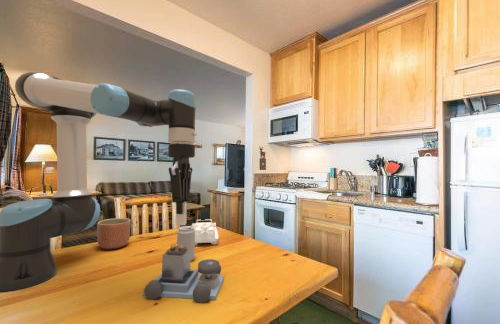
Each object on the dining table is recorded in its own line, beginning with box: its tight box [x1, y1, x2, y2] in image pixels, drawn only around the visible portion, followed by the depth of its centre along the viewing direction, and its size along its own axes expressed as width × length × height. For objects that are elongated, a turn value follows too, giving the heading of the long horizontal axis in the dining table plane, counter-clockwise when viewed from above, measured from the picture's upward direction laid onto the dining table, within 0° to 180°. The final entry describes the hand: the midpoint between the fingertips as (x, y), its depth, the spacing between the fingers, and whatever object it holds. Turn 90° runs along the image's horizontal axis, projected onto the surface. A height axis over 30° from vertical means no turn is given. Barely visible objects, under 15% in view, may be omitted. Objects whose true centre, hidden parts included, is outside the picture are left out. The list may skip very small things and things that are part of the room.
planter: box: [96, 217, 132, 251], centre depth 101 cm, size 12×12×11 cm
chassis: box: [141, 263, 225, 304], centre depth 69 cm, size 20×15×4 cm
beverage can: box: [176, 225, 196, 262], centre depth 89 cm, size 6×6×12 cm
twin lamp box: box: [161, 243, 191, 284], centre depth 69 cm, size 6×6×11 cm
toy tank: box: [191, 219, 219, 246], centre depth 110 cm, size 12×20×10 cm, turn 12°
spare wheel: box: [197, 258, 220, 277], centre depth 69 cm, size 6×6×4 cm
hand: (180, 224), depth 69 cm, fingers closed
